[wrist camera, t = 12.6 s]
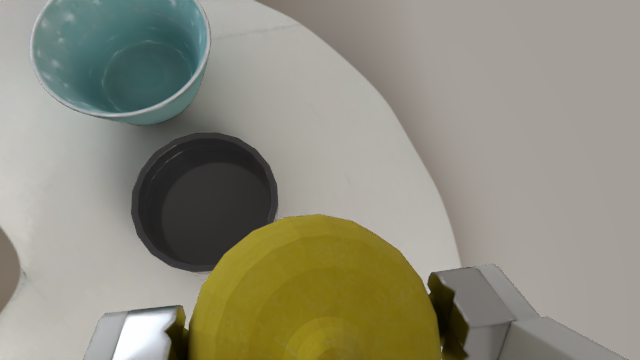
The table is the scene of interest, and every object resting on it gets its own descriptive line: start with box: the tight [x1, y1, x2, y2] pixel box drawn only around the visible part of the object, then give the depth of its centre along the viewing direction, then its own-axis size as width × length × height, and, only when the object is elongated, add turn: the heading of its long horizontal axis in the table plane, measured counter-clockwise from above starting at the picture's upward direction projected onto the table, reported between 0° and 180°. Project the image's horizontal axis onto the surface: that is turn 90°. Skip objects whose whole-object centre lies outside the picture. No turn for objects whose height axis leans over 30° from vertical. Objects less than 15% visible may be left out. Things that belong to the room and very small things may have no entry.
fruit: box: [187, 214, 442, 360], centre depth 9 cm, size 6×6×8 cm
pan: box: [131, 133, 278, 274], centre depth 38 cm, size 13×13×4 cm
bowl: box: [30, 0, 211, 125], centre depth 39 cm, size 16×16×8 cm
